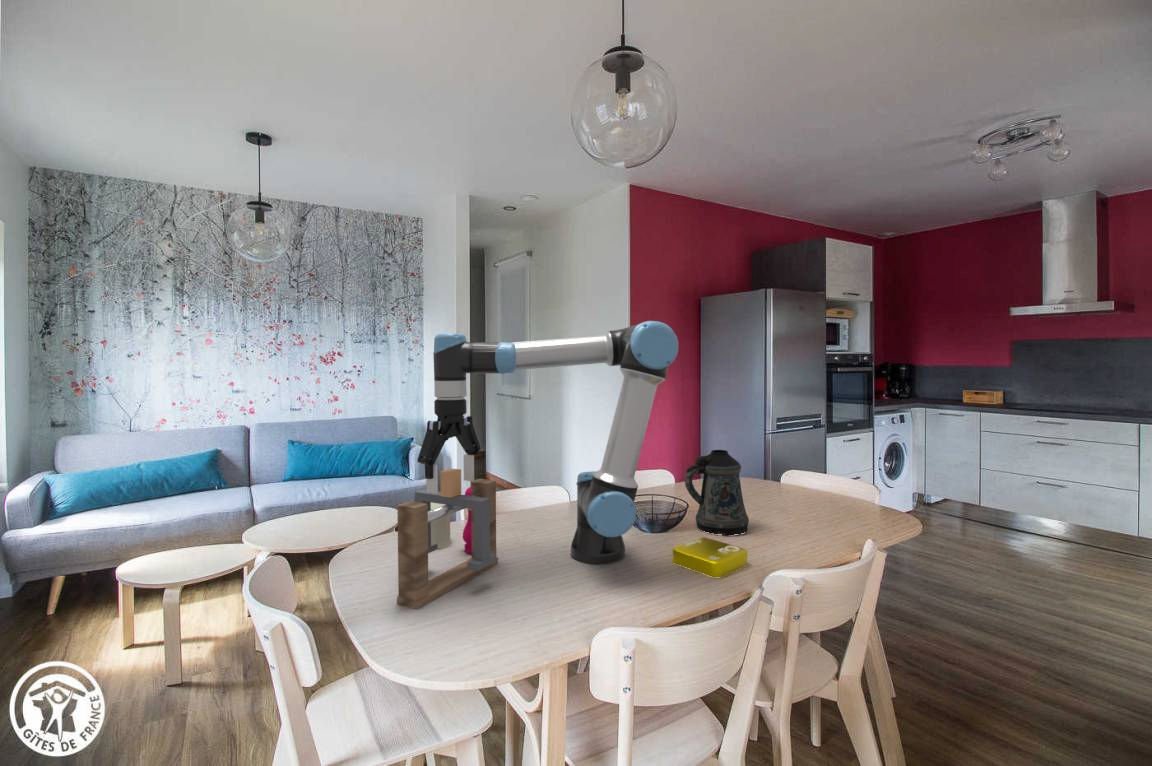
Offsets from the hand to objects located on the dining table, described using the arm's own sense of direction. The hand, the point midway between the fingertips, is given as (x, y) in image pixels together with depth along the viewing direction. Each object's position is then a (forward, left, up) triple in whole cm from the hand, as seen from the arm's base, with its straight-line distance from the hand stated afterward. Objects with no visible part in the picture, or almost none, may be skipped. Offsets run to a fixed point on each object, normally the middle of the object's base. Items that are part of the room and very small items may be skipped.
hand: (451, 486), depth 131 cm
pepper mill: (+8, -20, -24) cm, 32 cm away
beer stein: (-49, -71, -24) cm, 89 cm away
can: (+22, -19, -24) cm, 37 cm away
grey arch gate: (0, 0, -18) cm, 18 cm away
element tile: (-53, -40, -24) cm, 71 cm away
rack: (0, 0, -23) cm, 23 cm away
